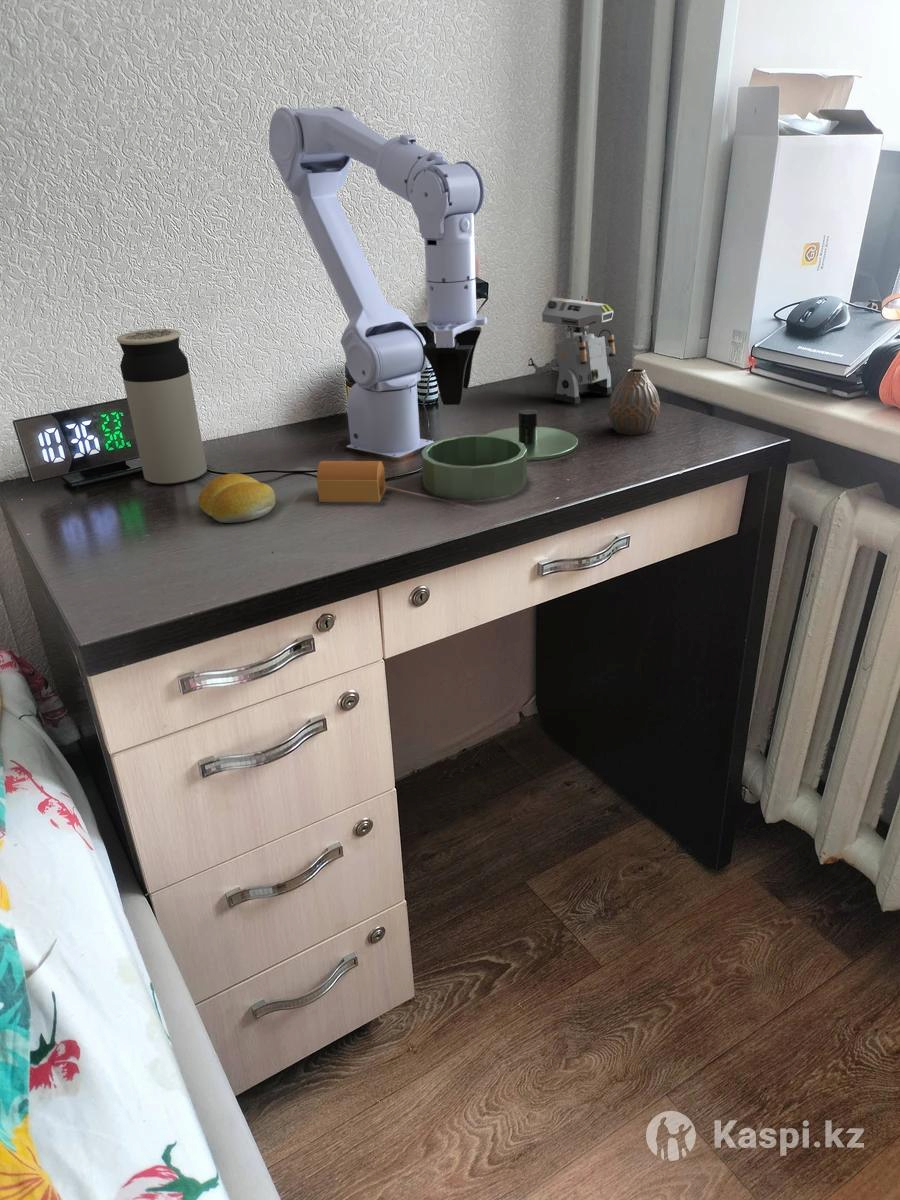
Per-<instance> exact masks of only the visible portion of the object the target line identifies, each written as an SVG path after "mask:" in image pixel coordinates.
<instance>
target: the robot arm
mask: <svg viewBox="0 0 900 1200" xmlns="http://www.w3.org/2000/svg"><path fill="white" fill-rule="evenodd" d="M268 130H269V131H268V132H269V139H268V152H269V154H270V155H271V157H272V159H273V162H274V163H275V166H276V168H277V170H278V172H279V174H280V177H281V178H282V181H283V182H284V184H285V187H286V189H287V190H288V191H290V193H291V197H292V200H293V203H294V205H295V208H296V210H297V211H298V214H299V216H300V218H301V220H302V222H303V225H304V227H305V229H306V232H307V234H308V235H309V237H310V239H311V241H312V244H313V246H314V249H315V250H316V252H317V254H318V257H319V258H320V261H321V263H322V265H323V267H324V269H325V271H326V273H327V275H328V278H329V281H330V282H331V284H332V286H333V288H334V291H335V293H336V294H337V295H336V296H337V297H338V299H339V301H340V304H341V305H342V307H343V309H344V312H345V314H346V316H347V319H348V320H349V322H348V324H347V325H346V327H345V329H344V331H343V333H342V335H341V338H340V344H341V347H342V349H343V352H344V356H345V361H346V366H347V370H348V372H349V374H350V376H351V378H352V379H353V381H354V382H355V383H354V384H353V385H352V386H351V387H350V388H349V391H348V394H347V398H346V412H347V421H348V422H347V423H348V432H349V442H350V444H348V445H346V448H349V449H354V450H359V451H363V452H368V453H372V454H378V455H383V456H387V457H392V458H401V457H403V456H405V455H407V454H410V453H412V452H414V451H416V450H419V449H421V448H425V447H426V446H427V445H429V444H431V443H434V441H433V440H431V439H424V438H421V435H420V434H421V433H420V418H419V417H420V415H419V403H418V402H419V401H418V385H417V383H418V382H421V380H422V378H421V374H423V372H424V371H425V370H426V368H427V365H428V362H429V364H430V366H431V368H432V372H433V374H434V377H435V381H436V384H437V389H438V393H439V396H440V400H441V403H442V405H443V406H455V405H456V406H459V405H461V403H462V400H463V393H464V390H465V389H468V388H469V385H470V381H471V375H472V369H473V368H472V367H473V359H474V355H475V350H476V346H477V343H478V341H479V338H480V335H481V333H482V327H480V326H485V325H487V323H488V317H487V316H483V315H482V316H481V315H480V316H477V315H478V312H477V283H476V248H475V247H476V246H475V245H476V244H475V243H476V242H475V216H476V215H477V214H478V213H479V211H480V210H481V209H482V206H483V203H484V200H485V185H484V181H483V178H482V175H481V173H480V172H479V170H478V169H477V168H476V167H475V166H474V165H473V164H472V163H471V162H470V161H468V160H462V161H461V160H460V161H457V162H455V163H450V162H449V161H448V160H446V159H445V155H444V154H443V153H441V152H440V151H430V150H428V149H426V148H425V147H423V146H421V145H419V144H418V143H417V142H418V137H417V136H414V135H412V134H401V135H400V136H394V137H391V138H390V139H387V138H385V137H384V136H383V135H381V134H380V133H378V132H377V131H375V130H374V129H372V128H371V127H369V126H368V125H366V124H365V123H364V122H362V121H361V120H359V119H358V118H357V115H356V113H355V112H354V111H351V110H347V109H346V108H344V107H342V106H333V107H321V108H320V107H319V108H318V107H317V108H312V107H311V108H289V107H284V106H283V107H282V106H281V107H278V108H277V109H276V110H275V111H274V112H273V114H272V117H271V118H270V121H269V129H268ZM352 160H354V161H357V162H358V163H361V164H363V165H365V166H367V167H369V168H371V169H373V170H375V176H376V178H377V181H378V182H379V184H380V185H381V186H382V187H383V188H385V189H387V190H388V191H390V192H391V193H394V194H395V195H397V196H398V197H400V198H402V199H403V200H405V201H406V202H408V203H410V204H411V207H412V210H413V212H414V214H415V216H416V218H417V222H418V230H419V231H418V233H419V234H420V236H421V238H422V239H423V240H424V241H423V242H424V243H423V244H424V259H425V260H424V261H425V277H426V279H425V280H426V296H427V299H426V300H427V316H428V318H427V319H426V327H427V328H428V329H429V330H430V331H431V332H433V333H434V334H435V342H433V343H432V342H431V343H430V342H429V343H427V342H426V340H425V338H424V336H423V334H422V333H421V332H420V331H419V330H418V329H417V328H416V327H415V326H414V325H413V323H412V321H411V319H410V317H409V315H408V314H407V313H404V312H403V311H402V310H399V309H397V308H396V307H393V306H391V305H390V304H388V303H387V300H386V298H385V296H384V294H383V292H382V290H381V288H380V286H379V283H378V281H377V279H376V277H375V275H374V273H373V271H372V269H371V266H370V265H369V262H368V260H367V258H366V256H365V254H364V252H363V249H362V247H361V245H360V244H359V241H358V239H357V237H356V235H355V232H354V230H353V228H352V226H351V224H350V222H349V220H348V217H347V215H346V213H345V211H344V209H343V207H342V205H341V203H340V201H339V198H338V191H339V190H341V188H343V187H344V186H345V184H346V181H347V178H348V174H349V171H350V168H351V164H352Z"/></svg>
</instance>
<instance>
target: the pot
mask: <svg viewBox="0 0 900 1200" xmlns="http://www.w3.org/2000/svg"><path fill="white" fill-rule="evenodd" d="M420 454H421V456H420V457H421V471H422V484H423V486H424V489H425V490H426V491H428V492H429V493H431V494H433V495H434V496H437V497H442V498H447V499H451V500H466V501H470V500H471V501H477V500H486V499H488V500H489V499H496V498H500V497H503V496H507V495H511V494H513V493H515V492H518V491H519V490H520V489H522V488H524V486H525V485H526V483H527V481H528V461H527V449H526V448H525V446H524V445H523V443H521V442H518V441H516V440H514V439H511V438H506V437H500V436H494V435H486V434H467V435H456V436H451V437H447V438H442V439H438V440H436V441H433V443H431V444H428V445H426V446H424V447H423V449H422V451H421V452H420Z"/></svg>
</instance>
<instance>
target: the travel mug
mask: <svg viewBox="0 0 900 1200" xmlns="http://www.w3.org/2000/svg"><path fill="white" fill-rule="evenodd" d="M181 335H182V333H181V332H180V331H179V330H177V329H172V328H151V329H142V330H135V331H130V332H129V331H128V332H126V333H123V334H120V335H118V336H117V337H116V342H117V343H118V344H119V345H120V348H121V351H122V353H123V354H122V358H121V361H120V364H119V367H120V372H121V376H122V381H123V385H124V390H125V395H126V401H127V405H128V409H129V414H130V418H131V423H132V427H133V433H134V436H135V441H136V446H137V450H138V455H139V460H140V463H141V469H142V473H143V479H144V480H146V481H147V482H150V483H153V484H158V485H177V484H178V485H179V484H183V483H184V484H185V483H188V482H191V481H194V480H196V479H199V478H200V477H201V476H202V475H204V474H205V473H206V472H207V470H208V467H207V462H206V455H205V451H204V444H203V438H202V433H201V428H200V423H199V418H198V412H197V407H196V406H197V405H196V401H195V395H194V389H193V383H192V379H191V372H190V367H189V361H188V358H187V356H186V355H185V353H184V352H183V350H182V349H181V348H180V337H181Z"/></svg>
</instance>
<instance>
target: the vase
mask: <svg viewBox="0 0 900 1200" xmlns="http://www.w3.org/2000/svg"><path fill="white" fill-rule="evenodd" d="M660 408H661V402H660V397H659V392H658V391H657V389H656V387H655V386H654V384H653V382H652V381H651V380H650V379H649V377H648V374H647V372H646V370H645V369H643V368H636V367H635V368H634V367H633V368H628V369H627V370H626V372H625V374H624V376H623V377H622V379H621V380H620V381H619V383H618V384H616V385H615V388H613V389H612V393H611V395H610V397H609V401H608V418H609V423H610V425H611V427H612V429H613V430H614V431H615V432H616V433H618V434H621V435H626V436H640V435H641V436H642V435H646V434H648V433H651V431H652V430H653V429H654V428H655V426H656V425H657V422H658V420H659V415H660V411H661V410H660Z"/></svg>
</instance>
